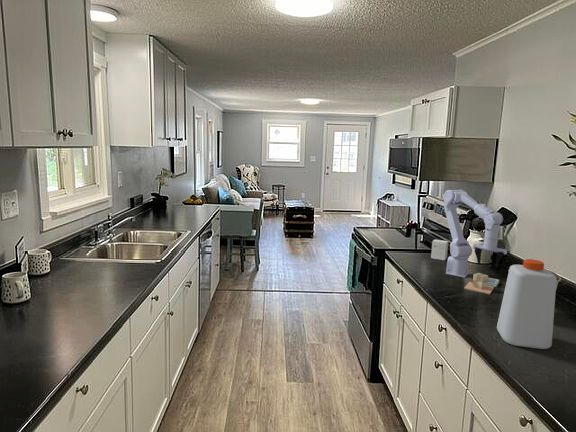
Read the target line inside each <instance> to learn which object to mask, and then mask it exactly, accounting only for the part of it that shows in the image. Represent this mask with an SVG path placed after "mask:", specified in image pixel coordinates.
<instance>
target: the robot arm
mask: <svg viewBox="0 0 576 432" xmlns="http://www.w3.org/2000/svg"><path fill="white" fill-rule="evenodd" d="M442 199H443V203H444V204H443V207H444V213H445V217H446V220H447V223H448V224H447V225H448V228H449V231H450V234H451V239H452V241H451V242H450V244H449V248H450V250H449V252H450V255H449V256H447V263H446V269H445V271H446V272H445V274H446V275H449V276H455V277H461V278H466V277H467V276H468V275H469V273H468V272H467V270H468V263H469V259H470V256H472V254H473V250H474V253H475V256H476V260H477V261H476V262H477V265H481V257H482V253H483V251H487V252H493V253H496V257H495V258H496V259H495V264H494V268H495V269H497V268H498V266H499V263H500V262H501V260H502V257H504V255H507V253H508V249H506V248H503V247H502V248H501V247H498V240H499V234H500V233H499V232H500V225H501V224H503V221H504V217H503V215H502V214H501V213H500V212H495V211H494V209H491V208H490V207H488V206H487V204H486V203H478V202H477V201H476V200H475V199H474V198H472V197H471V196H470V195H469V194H468V192H467V191H465V190H464V189H448V190H445V191H444V194H443V196H442ZM462 203H463V204H465V205H466V206H468V207H469V208H471V209H472V210H473V212H474V214H475V215H476V216H478V217H479V218H480V219H482V220H483V222H484V227H485V230H484V231H485V232H484V237H483V244H476V243H474V244H473V245H472V246H471V245H470V242H469V241H468V239H466V238H465V237H464V232H463V230H462V225H461V222H460V218H459V215H458V211H457V208H458V207H459V206H460V205H461V204H462Z"/></svg>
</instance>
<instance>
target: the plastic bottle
mask: <svg viewBox="0 0 576 432" xmlns="http://www.w3.org/2000/svg"><path fill="white" fill-rule="evenodd" d="M508 270H509V271H508V274H507V278H506V283H505V287H504V293H503V297H502V302H501V306H500V310H499V314H498V319H497V325H496V330H497V331H498V333H499V335H500V336H501V339H502V340H503V341H504V342H506V343H507V344H510V345H512V346H516V347H522V348H523V347H524V348H530V349H538V350H547V349H549V348H551V347H552V345H553V334H554V320H555V319H554V317H555V306H556V304H555V303H556V291H557V289H556V276H555V275H554V274H553V273H551V272H550V271H551V270H550V271H549V269H547V268H546V267H545V263H544V262H543V261H541V260H537V259H533V258H532V259H531V258H526V259H524V260H523V261H522V264H512V265H510V266H509V269H508Z"/></svg>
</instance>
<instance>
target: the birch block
mask: <svg viewBox="0 0 576 432" xmlns="http://www.w3.org/2000/svg"><path fill="white" fill-rule="evenodd" d="M488 278H489V275H488V274H484V273H481V272H477V273H473V277H472V282H473V283H472V287H475V288H478V289H485V288H487V286H488V285H487V282H489V281H488Z"/></svg>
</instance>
